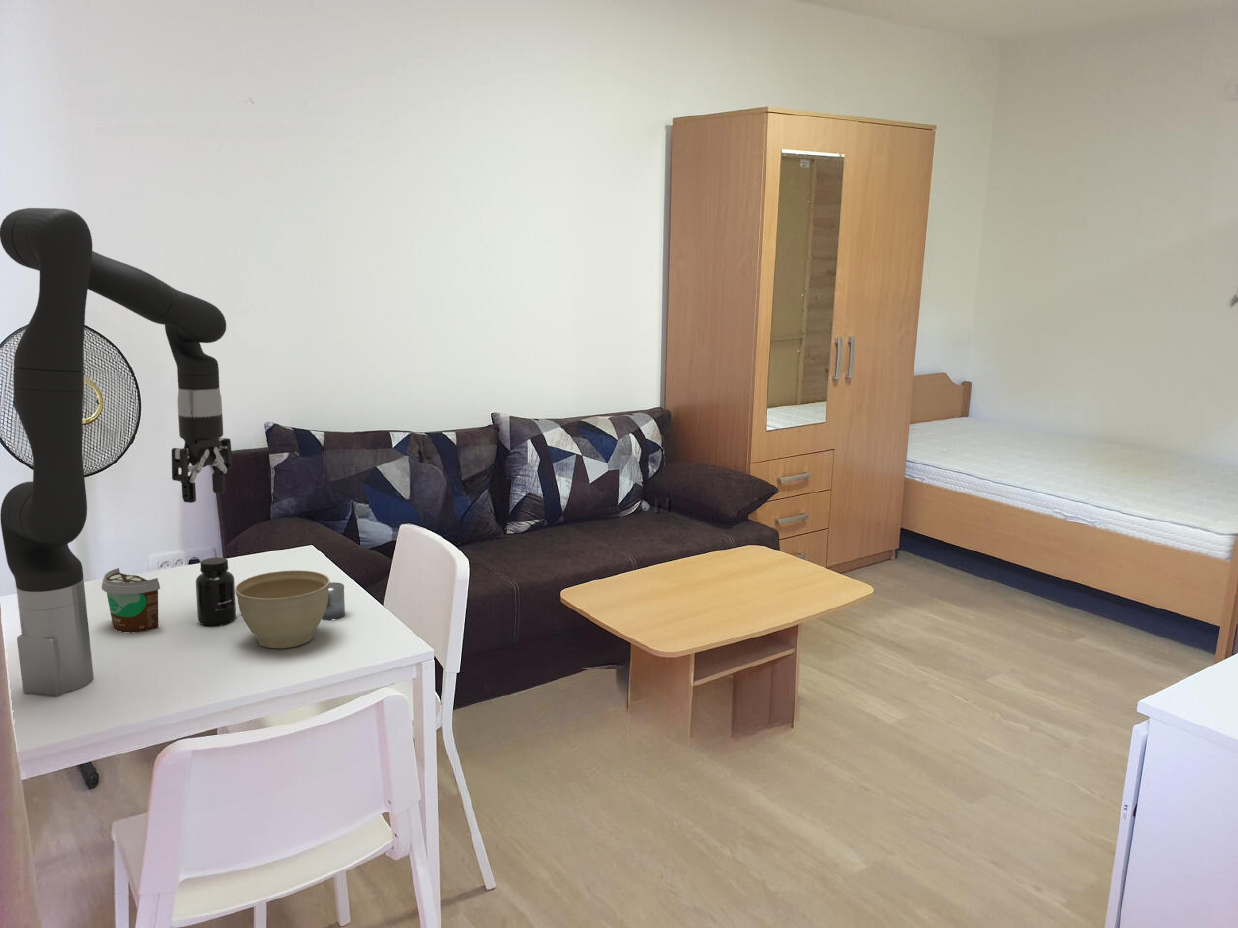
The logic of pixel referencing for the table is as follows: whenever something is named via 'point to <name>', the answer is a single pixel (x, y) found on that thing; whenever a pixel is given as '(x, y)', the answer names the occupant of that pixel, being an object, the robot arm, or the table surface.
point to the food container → (131, 601)
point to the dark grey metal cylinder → (335, 602)
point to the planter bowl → (283, 606)
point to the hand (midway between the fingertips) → (204, 497)
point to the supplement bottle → (215, 593)
